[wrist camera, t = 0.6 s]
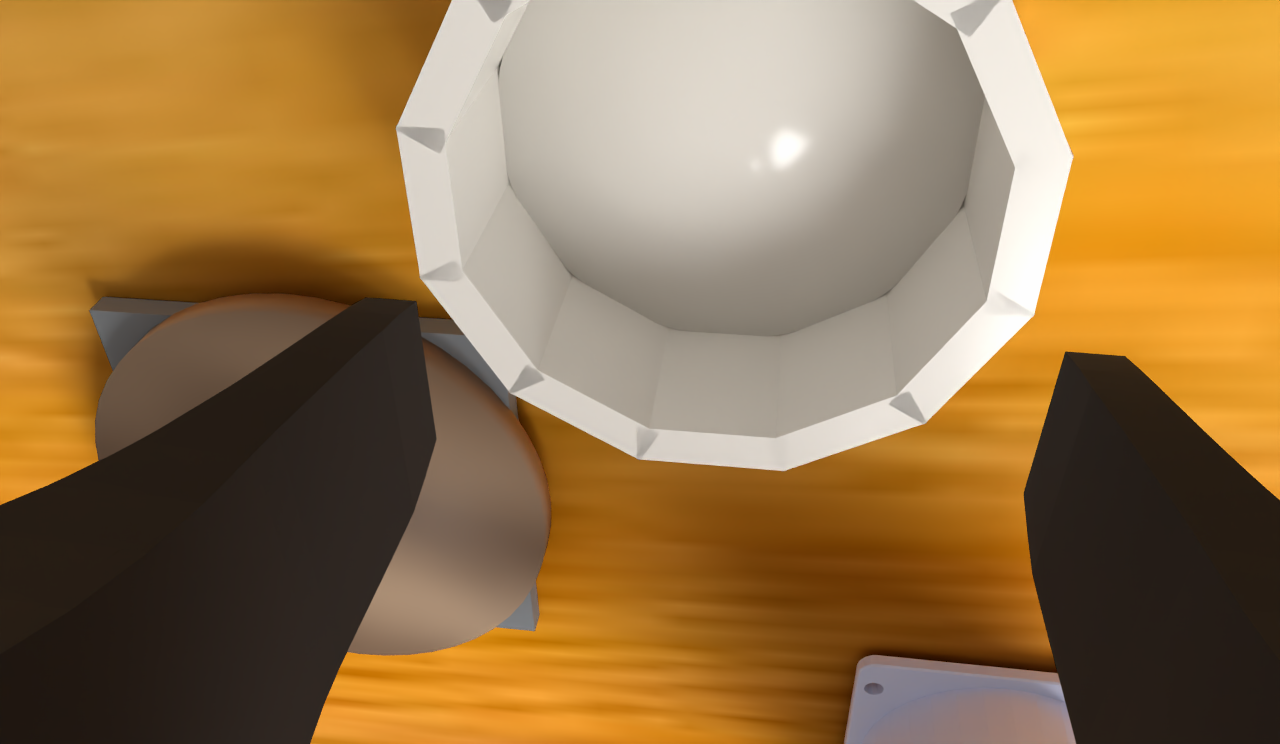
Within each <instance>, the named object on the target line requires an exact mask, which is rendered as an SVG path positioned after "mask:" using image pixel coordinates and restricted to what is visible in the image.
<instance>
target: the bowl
mask: <svg viewBox="0 0 1280 744" xmlns="http://www.w3.org/2000/svg"><path fill="white" fill-rule="evenodd" d="M396 130H397V136H398V143H399V149H400V155H401V161H402V167H403V173H404V180H405V186H406V192H407V198H408V204H409V210H410V217H411V223H412V229H413V235H414V241H415V247H416V254H417V260H418V266H419V272H420V278H421V279H422V281H423V282H424V283H425V285H426V286H427V287H428V288H429V290H430V291H431V292H432V293H433V295H434V296H435V297H436V299H437V300H438V301H439V302H440V304H441V305H442V306H443V308H444V309H445V310H446V311H447V313H448V314H449V315H450V317H451V318H452V319H453V320H454V322H455V323H456V324H457V326H458V327H459V328H460V329H461V331H462V332H463V333H464V335H465V336H466V337H467V338H468V340H469V341H470V342H471V344H472V345H473V346H474V347H475V349H476V350H477V351H478V352H479V354H480V355H481V356H482V358H483V359H484V360H485V361H486V363H487V364H488V365H489V367H490V368H491V369H492V370H493V372H494V373H495V374H496V376H497V377H498V378H499V379H500V381H501V382H502V383H503V385H504V386H505V387H506V388H507V390H508V391H509V393H510V394H513V395H515V396H517V397H519V398H521V399H523V400H525V401H527V402H529V403H531V404H532V405H534V406H536V407H538V408H540V409H542V410H544V411H546V412H548V413H550V414H552V415H554V416H556V417H558V418H560V419H561V420H563V421H565V422H567V423H569V424H571V425H573V426H575V427H577V428H579V429H581V430H583V431H585V432H587V433H589V434H591V435H592V436H594V437H596V438H598V439H600V440H602V441H604V442H606V443H608V444H610V445H612V446H614V447H616V448H618V449H620V450H621V451H623V452H625V453H627V454H629V455H631V456H633V457H635V458H637V459H639V460H640V459H641V460H654V461H666V462H679V463H691V464H704V465H716V466H729V467H741V468H754V469H766V470H779V471H786V470H788V469H791V468H794V467H797V466H800V465H803V464H806V463H809V462H812V461H815V460H818V459H821V458H824V457H827V456H830V455H833V454H836V453H839V452H842V451H845V450H848V449H851V448H854V447H856V446H859V445H862V444H865V443H868V442H871V441H874V440H877V439H880V438H883V437H886V436H889V435H892V434H895V433H898V432H901V431H904V430H907V429H910V428H913V427H916V426H919V425H922V424H925V423H927V421H928V420H929V419H930V418H931V417H932V416H933V415H934V414H935V413H936V412H937V411H938V410H939V409H940V408H941V407H942V406H943V405H944V404H945V403H946V402H947V401H948V400H949V399H950V398H951V397H952V396H953V395H954V394H955V393H956V392H957V391H958V390H959V389H960V388H961V387H962V386H963V385H964V384H965V383H966V382H967V381H968V380H969V379H970V378H971V377H972V376H973V375H974V374H975V373H976V372H977V371H978V370H979V369H980V368H981V367H982V366H983V365H984V364H985V363H986V362H987V361H988V360H989V359H990V358H991V357H992V356H993V355H994V354H995V353H996V352H997V351H998V350H999V349H1000V348H1001V347H1002V346H1003V345H1004V344H1005V343H1006V342H1007V341H1008V340H1009V339H1010V338H1011V337H1012V336H1013V335H1014V334H1015V333H1016V332H1017V331H1018V330H1019V329H1020V328H1021V327H1022V326H1023V325H1024V324H1025V323H1026V322H1027V321H1028V320H1029V319H1030V318H1031V317H1033V316H1034V314H1035V308H1036V304H1037V300H1038V296H1039V292H1040V288H1041V284H1042V280H1043V276H1044V272H1045V268H1046V264H1047V260H1048V256H1049V252H1050V248H1051V243H1052V239H1053V235H1054V231H1055V227H1056V223H1057V219H1058V215H1059V211H1060V207H1061V203H1062V199H1063V195H1064V191H1065V187H1066V183H1067V179H1068V175H1069V171H1070V167H1071V163H1072V159H1074V158H1073V153H1072V151H1071V149H1070V147H1069V145H1068V142H1067V140H1066V138H1065V135H1064V133H1063V130H1062V128H1061V125H1060V122H1059V120H1058V117H1057V115H1056V112H1055V109H1054V107H1053V104H1052V102H1051V99H1050V97H1049V94H1048V91H1047V89H1046V86H1045V84H1044V81H1043V79H1042V76H1041V73H1040V71H1039V68H1038V66H1037V63H1036V61H1035V58H1034V55H1033V53H1032V50H1031V48H1030V45H1029V42H1028V40H1027V37H1026V35H1025V32H1024V30H1023V27H1022V24H1021V22H1020V19H1019V17H1018V14H1017V12H1016V9H1015V6H1014V4H1013V1H1012V0H452V1H451V4H450V6H449V8H448V11H447V13H446V15H445V17H444V20H443V22H442V24H441V27H440V29H439V31H438V33H437V36H436V38H435V40H434V43H433V45H432V47H431V49H430V52H429V54H428V56H427V59H426V61H425V63H424V65H423V68H422V70H421V72H420V75H419V77H418V79H417V81H416V84H415V86H414V88H413V91H412V93H411V95H410V97H409V100H408V102H407V104H406V107H405V109H404V111H403V114H402V116H401V118H400V120H399V123H398V124H397V126H396Z"/></svg>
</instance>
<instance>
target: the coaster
mask: <svg viewBox="0 0 1280 744" xmlns="http://www.w3.org/2000/svg"><path fill="white" fill-rule="evenodd" d="M195 304H198V303H192V302H177V301H162V300H146V299H131V298H116V297H102V298H101V299H100V300H99V301H98V302H97V303H96V304H95V305H94V306H93V307H92V308H91V309H90V310H89V311H90V313H91V316H92V318H93V321H94V323H95V326H96V329H97V331H98V334H99V336H100V339H101V341H102V344H103V347H104V349H105V352H106V354H107V357H108V359H109V362H110V365H111V367H112V370H113V371H114V369H115V368H116V366H117V365H118V363H119V362H120V361H121V360H122V359H123V358H124V357H125V355H126V354H127V353H128V352H129V351H130V350H131V349H132V348H133V347H134V346H135V345H136V344H137V343H138V342H139V341H140V340H141V339H142V338H143V337H144V336H145V335H146V334H147V333H148V332H149V331H150V330H151V329H152V328H153V327H155V326H156V325H158V324H159V323H161V322H162V321H164V320H165V319H167V318H168V317H170V316H171V315H172V314H174V313H177V312H179V311H181V310H184V309H186V308H188V307H190V306H193V305H195ZM419 323H420V329H421V336H422V337H423V338H425V339H426V340H428V341H430V342H431V343H433V344H435V345H437V346H438V347H440V348H441V349H443V350H444V351H446V352H447V353H448V354H450V355H451V356H452V357H454V358H455V359H457V360H458V361H459V362H461V363H462V364H463V365H465V366H466V367H468V368H469V369H470V370H471V371H472V372H473V373H474V374H475V375H476V376H478V377H479V378H480V379H481V380H482V381H483V382H484V383H485V384H486V385H488V386H489V387H490V388H491V389H492V390H493V391H494V393H495V394H496V395H497V396H498V397H499V398H500V399H501V401H502V402H503V403H504V404H505V405H506V406H507V407H508V408H509V410H511V411H512V412H513V414H514V415H515V417H516V418H517V420H518V411H517V402H516V396H515V395H513V394H510V393H509V391H508V390H507V388H506V387H505V386H504V385H503V383H502V382H501V381H500V379H499V378H498V377H497V376H496V374H495V373H494V372H493V370H492V369H491V368H490V367H489V365H488V364H487V363H486V361H485V360H484V359H483V358H482V356H481V355H480V354H479V352H478V351H477V350H476V349H475V347H474V346H473V345H472V344H471V342H470V341H469V340H468V338H467V337H466V336H465V335H464V333H463V332H462V331H461V329H460V328H459V327H458V326H457V324H456V323H455V322H454V320H453V319H438V318H422V317H419ZM538 618H539V607H538V597H537V588H536V581H535V583H534V586H533V587H532V589H531V590H530V592H529V594H528V595H527V597H526V598H525V600H524V601H523V603H522V604H521V605H520V606H519V607H518V608H517V609H516V610H515V611H514V612H513V613H512V614H511V616H510V617H508V618H507V619H506V620H504V621H503V622H502V623H500V624H499V625H498V626H496V627H500V628H510V629H519V630H529V631H535V629H536V625H537V621H538Z"/></svg>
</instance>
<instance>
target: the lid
mask: <svg viewBox="0 0 1280 744" xmlns="http://www.w3.org/2000/svg"><path fill="white" fill-rule="evenodd" d="M348 307H350V305H347V304H343V303H338V302H334V301H330V300H325V299H321V298H317V297H309V296H301V295H293V294H285V293H250V294H242V295H233V296H225V297H220V298H216V299H213V300H209V301H205V302H201V303H198V304H195V305H193V306H190V307H188V308H186V309H184V310H181V311H179V312H177V313H174V314H172V315H171V316H170V317H168V318H167V319H165V320H164V321H162V322H161V323H159V324H158V325H156V326H155V327H153V328H152V329H151V330H150V331H149V332H148V333H147V334H146V335H145V336H144V337H143V338H142V339H141V340H140V341H139V342H138V343H137V344H136V345H135V346H134V347H133V348H132V349H131V350H130V351H129V352H128V353H127V354H126V355H125V357H124V358H123V359H122V360H121V361H120V362H119V363H118V365H117V366H116V368H115V369H114V371H113V372H112V374H111V375H110V377H109V378H108V380H107V382H106V384H105V387H104V389H103V391H102V394H101V396H100V399H99V403H98V409H97V414H96V420H95V442H96V448H97V453H98V459H99V461H100V460H102V459H104V458H106V457H108V456H110V455H112V454H114V453H116V452H117V451H119V450H121V449H123V448H125V447H127V446H129V445H131V444H133V443H134V442H136V441H138V440H140V439H142V438H144V437H145V436H147V435H149V434H151V433H153V432H154V431H156V430H158V429H160V428H161V427H163V426H165V425H166V424H168V423H170V422H171V421H173V420H175V419H176V418H178V417H180V416H181V415H183V414H184V413H186V412H188V411H189V410H191V409H193V408H194V407H196V406H198V405H199V404H201V403H203V402H204V401H206V400H208V399H209V398H211V397H213V396H214V395H216V394H218V393H219V392H221V391H223V390H224V389H226V388H228V387H229V386H231V385H232V384H234V383H235V382H237V381H239V380H240V379H242V378H243V377H245V376H246V375H248V374H249V373H251V372H252V371H254V370H255V369H257V368H258V367H260V366H261V365H263V364H264V363H266V362H267V361H269V360H270V359H272V358H273V357H275V356H276V355H278V354H279V353H281V352H282V351H284V350H285V349H287V348H288V347H290V346H291V345H293V344H294V343H296V342H297V341H299V340H300V339H302V338H303V337H304V336H306V335H307V334H309V333H310V332H312V331H313V330H315V329H316V328H318V327H319V326H321V325H322V324H324V323H325V322H327V321H328V320H330V319H331V318H333V317H334V316H336V315H337V314H339V313H340V312H342V311H343V310H345V309H347V308H348ZM422 343H423V350H424V356H425V363H426V370H427V377H428V383H429V390H430V397H431V404H432V411H433V417H434V424H435V431H436V438H437V440H436V443H435V447H434V450H433V453H432V457H431V460H430V463H429V467H428V470H427V473H426V477H425V480H424V483H423V486H422V489H421V492H420V495H419V498H418V501H417V504H416V507H415V510H414V513H413V515H412V517H411V519H410V521H409V524H408V526H407V528H406V530H405V532H404V534H403V537H402V539H401V541H400V543H399V545H398V547H397V549H396V551H395V554H394V556H393V558H392V560H391V562H390V564H389V566H388V568H387V570H386V572H385V575H384V577H383V579H382V581H381V583H380V585H379V587H378V589H377V591H376V593H375V595H374V597H373V599H372V601H371V604H370V606H369V608H368V610H367V612H366V614H365V616H364V618H363V620H362V622H361V624H360V626H359V628H358V630H357V633H356V635H355V637H354V639H353V641H352V643H351V645H350V647H349V649H348V651H347V652H351V653H358V654H371V655H411V654H418V653H426V652H433V651H437V650H442V649H446V648H450V647H454V646H457V645H460V644H462V643H465V642H468V641H470V640H473V639H475V638H477V637H479V636H481V635H483V634H485V633H486V632H488V631H490V630H492V629H494V628H495V627H496V626H498V625H499V624H500V623H502V622H503V621H504V620H506V619H507V618H508V617H510V616H511V614H512V613H513V612H514V611H515V610H516V609H517V608H518V607H519V606H520V605H521V604H522V603H523V601H524V600H525V598H526V597H527V595H528V594H529V592H530V590H531V589H532V587H533V586H534V583H535V581H536V578H537V576H538V573H539V571H540V568H541V565H542V562H543V558H544V555H545V551H546V548H547V544H548V539H549V534H550V528H551V499H550V493H549V488H548V482H547V478H546V475H545V472H544V470H543V467H542V464H541V461H540V458H539V456H538V454H537V452H536V450H535V448H534V446H533V444H532V442H531V440H530V438H529V436H528V434H527V433H526V431H525V430H524V428H523V427H522V426H521V424H520V423H519V421H518V420H517V418H516V417H515V415H514V414H513V412H512V411H511V410H509V408H508V407H507V406H506V405H505V404H504V403H503V402H502V401H501V399H500V398H499V397H498V396H497V395H496V394H495V393H494V391H493V390H492V389H491V388H490V387H489V386H488V385H486V384H485V383H484V382H483V381H482V380H481V379H480V378H479V377H478V376H476V375H475V374H474V373H473V372H472V371H471V370H470V369H469V368H468V367H466V366H465V365H463V364H462V363H461V362H459V361H458V360H457V359H455V358H454V357H452V356H451V355H450V354H448V353H447V352H446V351H444V350H443V349H441V348H440V347H438V346H437V345H435V344H433V343H431V342H430V341H428V340H426V339H425V338H423V337H422Z"/></svg>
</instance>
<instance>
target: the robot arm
mask: <svg viewBox="0 0 1280 744" xmlns="http://www.w3.org/2000/svg"><path fill="white" fill-rule="evenodd" d="M436 440H437V438H436V431H435V424H434V417H433V411H432V404H431V397H430V390H429V383H428V377H427V370H426V363H425V356H424V350H423V343H422V336H421V329H420V323H419V316H418V309H417V302H416V301H407V300H394V299H381V298H368V297H365V298H364V299H362V300H360V301H358V302H357V303H355V304H353V305H351V306H350V307H348V308H347V309H345V310H343V311H342V312H340V313H339V314H337V315H336V316H334V317H333V318H331V319H330V320H328V321H327V322H325V323H324V324H322V325H321V326H319V327H318V328H316V329H315V330H313V331H312V332H310V333H309V334H307V335H306V336H304V337H303V338H302V339H300V340H299V341H297V342H296V343H294V344H293V345H291V346H290V347H288V348H287V349H285V350H284V351H282V352H281V353H279V354H278V355H276V356H275V357H273V358H272V359H270V360H269V361H267V362H266V363H264V364H263V365H261V366H260V367H258V368H257V369H255V370H254V371H252V372H251V373H249V374H248V375H246V376H245V377H243V378H242V379H240V380H239V381H237V382H235V383H234V384H232V385H231V386H229V387H228V388H226V389H224V390H223V391H221V392H219V393H218V394H216V395H214V396H213V397H211V398H209V399H208V400H206V401H204V402H203V403H201V404H199V405H198V406H196V407H194V408H193V409H191V410H189V411H188V412H186V413H184V414H183V415H181V416H180V417H178V418H176V419H175V420H173V421H171V422H170V423H168V424H166V425H165V426H163V427H161V428H160V429H158V430H156V431H154V432H153V433H151V434H149V435H147V436H145V437H144V438H142V439H140V440H138V441H136V442H134V443H133V444H131V445H129V446H127V447H125V448H123V449H121V450H119V451H117V452H116V453H114V454H112V455H110V456H108V457H106V458H104V459H102V460H100V461H97V462H95V463H93V464H91V465H89V466H87V467H85V468H83V469H81V470H79V471H77V472H75V473H73V474H71V475H69V476H67V477H65V478H63V479H61V480H58V481H56V482H54V483H52V484H50V485H48V486H45V487H43V488H40V489H38V490H36V491H33V492H31V493H28V494H26V495H24V496H21V497H19V498H17V499H14V500H12V501H9V502H7V503H5V504H2V505H0V744H310V742H311V739H312V736H313V734H314V731H315V728H316V725H317V722H318V720H319V717H320V714H321V711H322V708H323V706H324V703H325V700H326V698H327V696H328V693H329V691H330V689H331V686H332V684H333V682H334V679H335V677H336V675H337V672H338V670H339V668H340V666H341V664H342V662H343V659H344V657H345V655H346V653H347V651H348V649H349V647H350V645H351V643H352V641H353V639H354V637H355V635H356V633H357V630H358V628H359V626H360V624H361V622H362V620H363V618H364V616H365V614H366V612H367V610H368V608H369V606H370V604H371V601H372V599H373V597H374V595H375V593H376V591H377V589H378V587H379V585H380V583H381V581H382V579H383V577H384V575H385V572H386V570H387V568H388V566H389V564H390V562H391V560H392V558H393V556H394V554H395V551H396V549H397V547H398V545H399V543H400V541H401V539H402V537H403V534H404V532H405V530H406V528H407V526H408V524H409V521H410V519H411V517H412V515H413V513H414V510H415V507H416V504H417V501H418V498H419V495H420V492H421V489H422V486H423V483H424V480H425V477H426V473H427V470H428V467H429V463H430V460H431V457H432V453H433V450H434V447H435V443H436ZM1024 502H1025V512H1026V523H1027V533H1028V542H1029V550H1030V558H1031V566H1032V574H1033V578H1034V582H1035V586H1036V591H1037V595H1038V599H1039V603H1040V607H1041V610H1042V614H1043V618H1044V622H1045V626H1046V630H1047V634H1048V638H1049V642H1050V646H1051V650H1052V653H1053V657H1054V661H1055V665H1056V669H1057V672H1058V673H1052V672H1042V671H1032V670H1022V669H1012V668H1002V667H992V666H982V665H972V664H962V663H952V662H942V661H932V660H922V659H912V658H902V657H892V656H882V655H870V656H867V657H864V658H862V659H861V660H860V661H859V662H858V664H857V668H856V674H855V680H854V686H853V692H852V698H851V704H850V710H849V716H848V722H847V728H846V734H845V739H844V744H1280V500H1279V499H1278V498H1276V497H1275V496H1274V495H1273V494H1272V493H1271V492H1270V491H1268V490H1267V489H1266V488H1265V487H1264V486H1263V485H1262V484H1260V483H1259V482H1258V481H1257V480H1256V479H1255V478H1254V477H1253V476H1252V475H1251V474H1249V473H1248V472H1247V471H1246V470H1245V469H1244V468H1243V467H1242V466H1241V465H1240V464H1239V463H1237V462H1236V461H1235V460H1234V459H1233V458H1232V457H1231V456H1230V455H1229V454H1228V453H1227V452H1226V451H1225V450H1223V449H1222V448H1221V447H1220V446H1219V445H1218V444H1217V443H1216V442H1215V441H1214V440H1213V439H1212V438H1211V437H1210V436H1209V435H1208V434H1207V433H1206V432H1204V431H1203V430H1202V429H1201V428H1200V427H1199V426H1198V425H1197V424H1196V423H1195V422H1194V421H1193V420H1192V419H1191V418H1190V417H1189V416H1188V415H1187V414H1186V413H1185V412H1184V411H1183V410H1182V409H1181V408H1180V407H1179V406H1178V405H1177V404H1176V403H1175V402H1173V401H1172V400H1171V399H1170V398H1169V397H1168V396H1167V395H1166V394H1165V393H1164V392H1163V391H1162V390H1161V389H1160V388H1159V387H1158V386H1157V385H1156V384H1155V383H1154V382H1153V381H1152V380H1151V379H1150V378H1149V377H1147V376H1146V375H1145V374H1144V373H1143V372H1142V371H1141V370H1140V369H1139V368H1138V367H1137V366H1136V365H1134V364H1133V363H1132V362H1131V361H1130V360H1129V359H1128V358H1126V357H1125V356H1115V355H1102V354H1089V353H1076V352H1065V355H1064V358H1063V362H1062V365H1061V368H1060V372H1059V375H1058V379H1057V382H1056V385H1055V389H1054V392H1053V396H1052V399H1051V402H1050V406H1049V409H1048V413H1047V416H1046V419H1045V423H1044V426H1043V429H1042V433H1041V436H1040V440H1039V443H1038V446H1037V450H1036V453H1035V457H1034V460H1033V463H1032V467H1031V470H1030V474H1029V477H1028V480H1027V484H1026V487H1025V491H1024Z"/></svg>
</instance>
